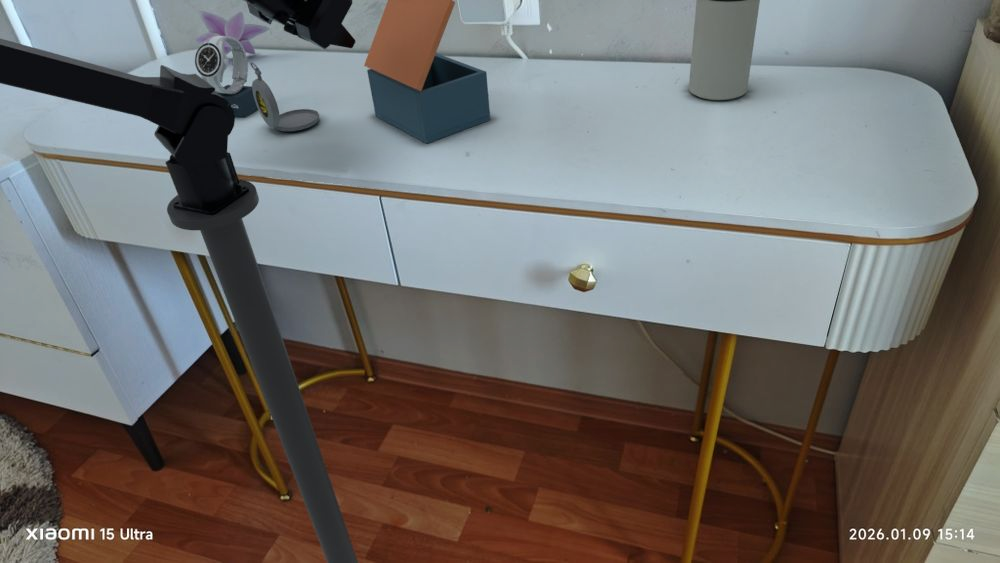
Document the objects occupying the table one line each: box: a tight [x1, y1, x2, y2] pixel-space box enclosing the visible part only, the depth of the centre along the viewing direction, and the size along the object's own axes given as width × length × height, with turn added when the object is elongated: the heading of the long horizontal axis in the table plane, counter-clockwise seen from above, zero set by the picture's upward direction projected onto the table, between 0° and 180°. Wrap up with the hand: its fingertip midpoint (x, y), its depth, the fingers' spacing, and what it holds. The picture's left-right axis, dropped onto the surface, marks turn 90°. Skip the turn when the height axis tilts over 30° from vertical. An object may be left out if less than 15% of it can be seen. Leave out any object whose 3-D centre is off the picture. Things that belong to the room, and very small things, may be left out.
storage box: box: [366, 52, 491, 144], centre depth 95 cm, size 11×14×7 cm
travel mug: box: [688, 0, 761, 101], centre depth 92 cm, size 8×8×18 cm
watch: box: [194, 36, 259, 118], centre depth 102 cm, size 6×8×11 cm
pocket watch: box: [249, 61, 320, 132], centre depth 96 cm, size 8×8×10 cm
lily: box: [192, 11, 271, 58], centre depth 123 cm, size 12×12×10 cm
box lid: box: [363, 0, 456, 91], centre depth 89 cm, size 11×14×1 cm
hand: (352, 44), depth 85 cm, fingers closed
